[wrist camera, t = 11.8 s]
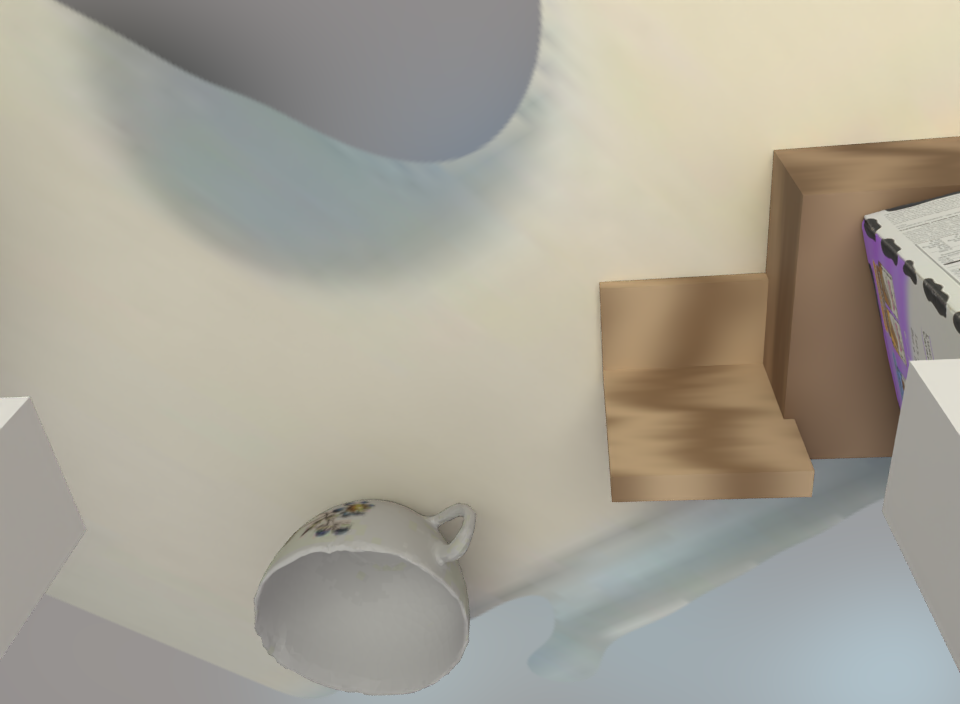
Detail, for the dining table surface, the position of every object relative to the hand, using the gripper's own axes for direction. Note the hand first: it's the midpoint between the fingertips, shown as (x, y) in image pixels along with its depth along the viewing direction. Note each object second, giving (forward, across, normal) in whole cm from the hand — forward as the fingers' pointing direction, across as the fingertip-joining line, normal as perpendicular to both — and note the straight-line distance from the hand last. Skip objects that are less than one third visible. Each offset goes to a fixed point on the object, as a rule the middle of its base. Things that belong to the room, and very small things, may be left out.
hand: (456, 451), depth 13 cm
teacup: (+31, -10, -30) cm, 44 cm away
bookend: (+31, +8, -16) cm, 36 cm away
